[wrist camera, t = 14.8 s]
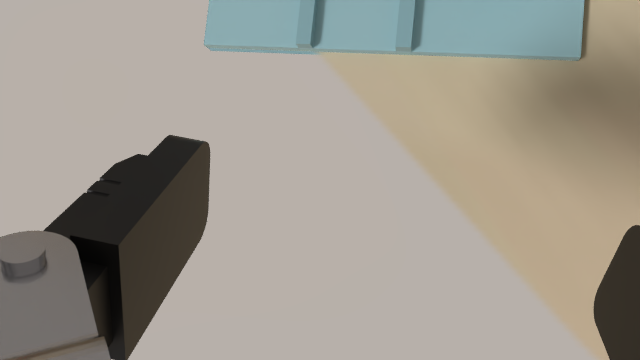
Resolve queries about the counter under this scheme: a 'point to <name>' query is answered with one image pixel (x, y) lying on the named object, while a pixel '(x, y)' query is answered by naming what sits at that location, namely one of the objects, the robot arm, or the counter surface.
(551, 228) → the counter surface
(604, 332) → the robot arm
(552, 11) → the lid
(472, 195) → the counter surface
